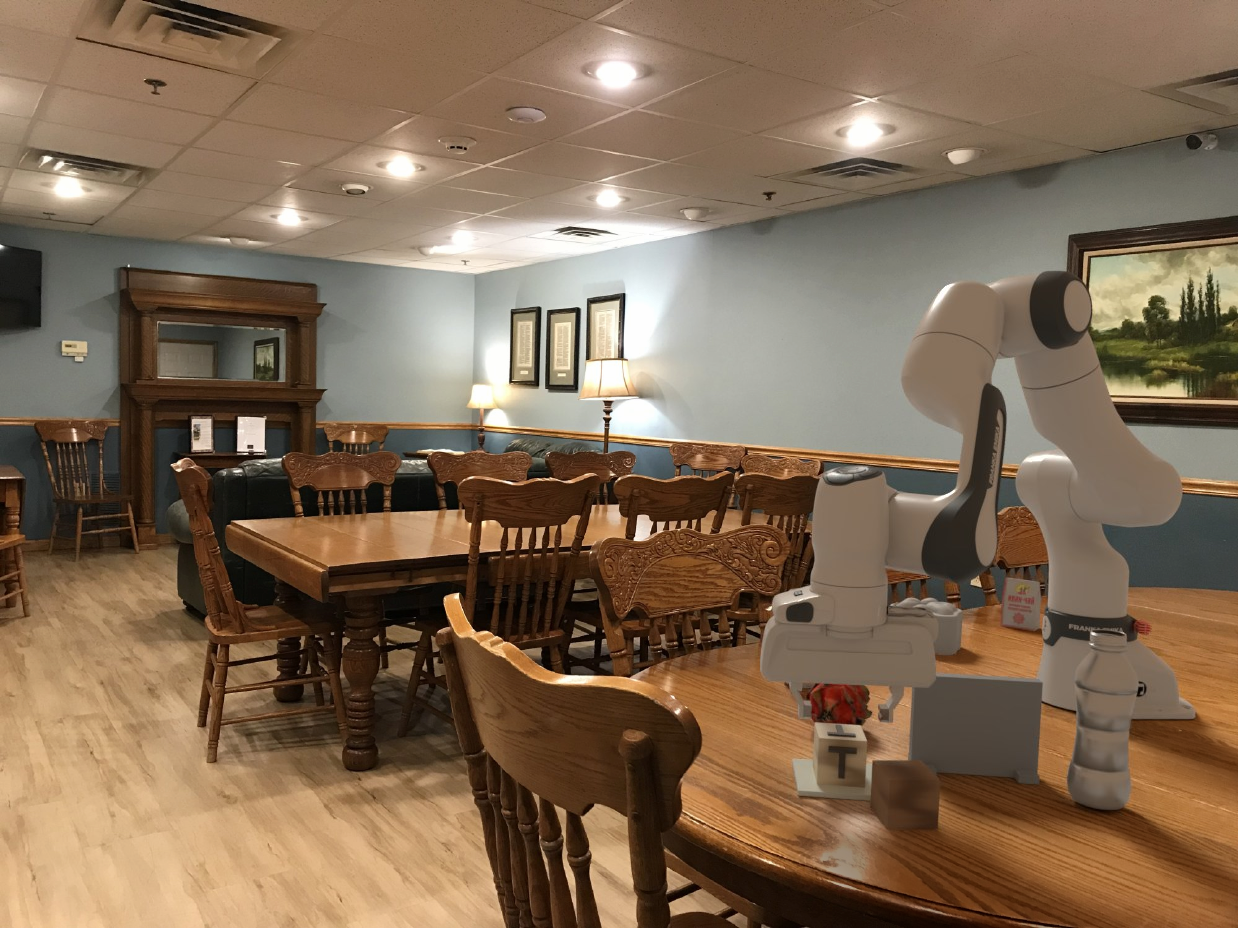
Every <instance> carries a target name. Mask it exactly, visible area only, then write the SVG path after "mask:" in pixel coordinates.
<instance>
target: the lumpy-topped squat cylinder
mask: <svg viewBox="0 0 1238 928" xmlns="http://www.w3.org/2000/svg"><path fill="white" fill-rule="evenodd" d="M889 606H902V607H907V608H908V607H911V608H914V607H923V608H926V611H929V612H931V613H933V614H934V615H935V616H936V618H937V620H938V624H939V625H938V637H937V640H936V641H935V643H934V644H933V645H934V651H935V655H937V654H940V655H939V656H954V655H953V654H955V655H957V653H958V652H957V651H959V650H961V649H960V648H962V634H963V633H962V632H963V631H962V630H963V610H962V609H960V608H957V607H956V605H954V604H953V603H951V602H945V601H938V599H936V598H933V597H925V598H924V599H922V600H920V599H918V598H915V597H907V598H904V600H902V601H900V602H898V601H896V602H895V603H891V604H890V605H889ZM907 616H908V615H907ZM926 616H930V615H928V614H926Z"/></svg>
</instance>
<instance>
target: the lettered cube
mask: <svg viewBox="0 0 1238 928" xmlns="http://www.w3.org/2000/svg"><path fill="white" fill-rule="evenodd" d="M813 723H814V722H813ZM812 746H813V748H812V750H813V752H812V753H813V754H812V760H813V770H814V774H815V778H816V783H817V784H821V785H835V786H849V787H863V788H865V778H866V763H867V754H868V753H867V752H868V751H867V750H868V740H867V737H866V735H865V732H864V731H863V728H862V726H861V725H848V724H832V723H817V722H815V723H814V728H813V745H812Z"/></svg>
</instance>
